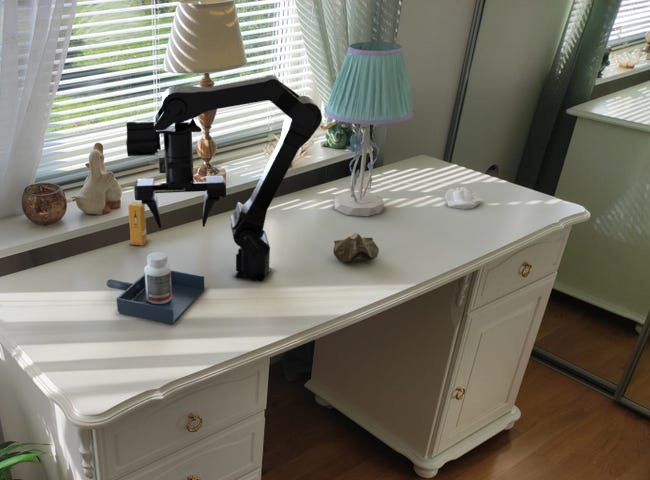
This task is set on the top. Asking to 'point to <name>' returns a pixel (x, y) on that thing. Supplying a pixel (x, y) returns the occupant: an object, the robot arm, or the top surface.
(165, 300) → the pill bottle
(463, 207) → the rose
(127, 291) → the dustpan
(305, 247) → the top surface
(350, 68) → the table lamp
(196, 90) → the robot arm
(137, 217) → the supplement box
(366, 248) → the fossilized seashell
